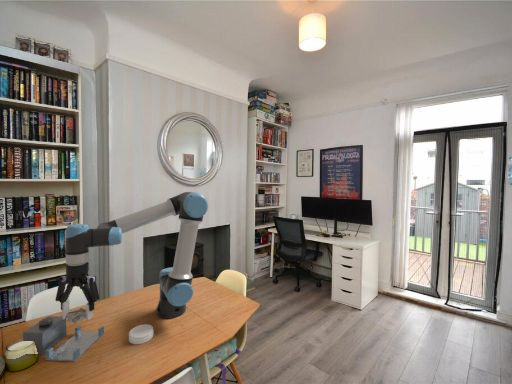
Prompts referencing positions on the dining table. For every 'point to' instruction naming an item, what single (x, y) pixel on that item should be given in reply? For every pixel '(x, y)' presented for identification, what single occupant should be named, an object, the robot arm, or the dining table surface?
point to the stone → (76, 315)
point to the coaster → (141, 334)
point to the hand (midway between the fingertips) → (77, 317)
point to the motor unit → (54, 332)
